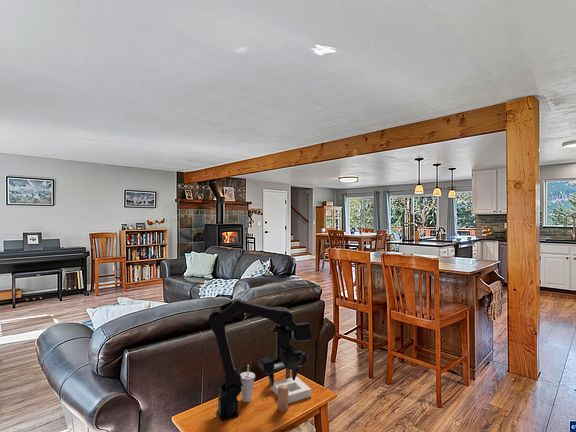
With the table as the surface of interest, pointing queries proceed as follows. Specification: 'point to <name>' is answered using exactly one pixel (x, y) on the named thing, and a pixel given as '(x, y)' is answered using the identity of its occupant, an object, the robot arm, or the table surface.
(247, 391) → the smoothie
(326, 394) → the table surface
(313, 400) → the table surface
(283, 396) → the peg
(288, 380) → the socket board
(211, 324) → the robot arm
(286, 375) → the grey arch
